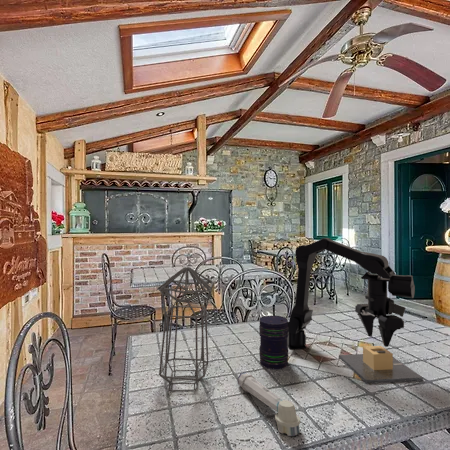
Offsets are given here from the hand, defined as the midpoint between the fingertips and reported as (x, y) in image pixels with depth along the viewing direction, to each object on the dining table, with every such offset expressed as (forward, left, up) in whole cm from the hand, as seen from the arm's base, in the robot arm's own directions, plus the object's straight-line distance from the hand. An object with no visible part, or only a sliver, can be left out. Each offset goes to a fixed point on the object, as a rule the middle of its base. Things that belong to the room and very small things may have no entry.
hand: (377, 341), depth 102 cm
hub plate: (0, 0, -9) cm, 9 cm away
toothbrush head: (-41, -18, -10) cm, 46 cm away
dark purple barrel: (-33, +7, -9) cm, 35 cm away
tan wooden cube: (0, 0, -8) cm, 8 cm away
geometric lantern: (-62, -4, -9) cm, 63 cm away
